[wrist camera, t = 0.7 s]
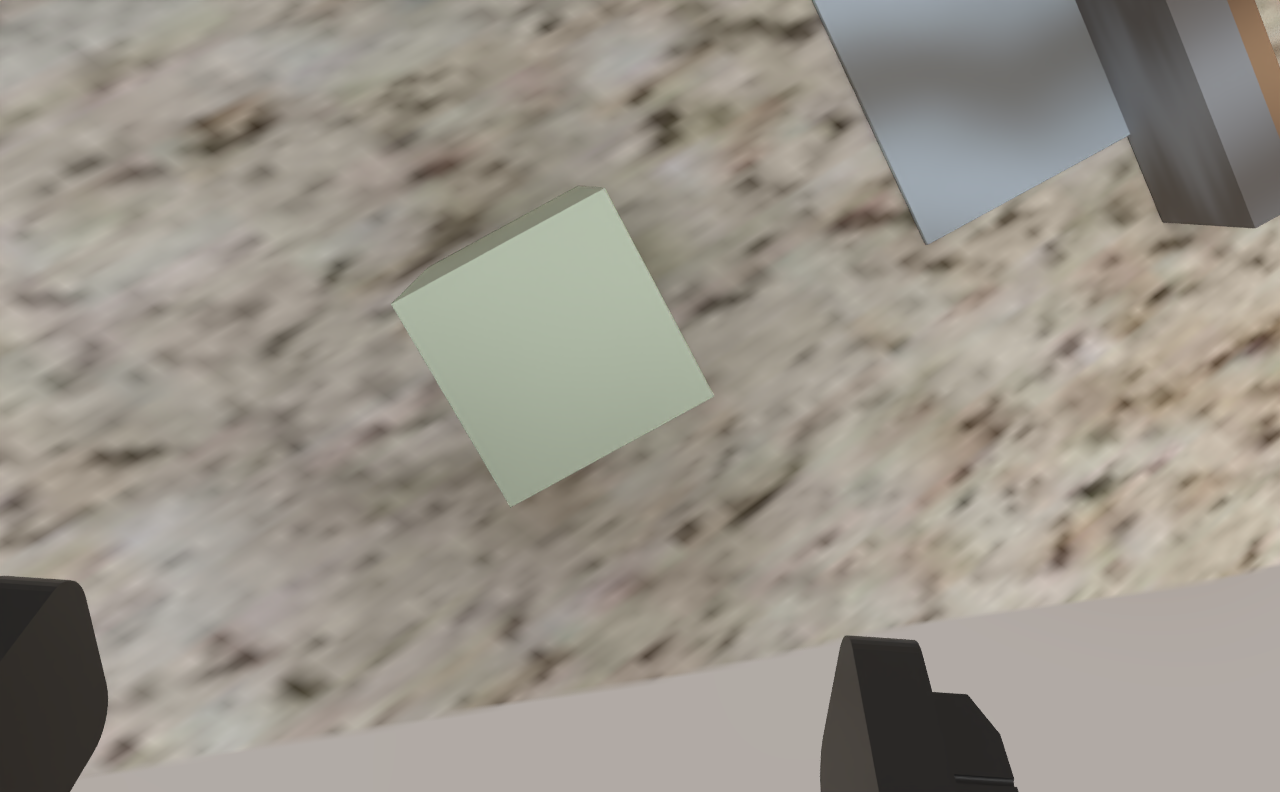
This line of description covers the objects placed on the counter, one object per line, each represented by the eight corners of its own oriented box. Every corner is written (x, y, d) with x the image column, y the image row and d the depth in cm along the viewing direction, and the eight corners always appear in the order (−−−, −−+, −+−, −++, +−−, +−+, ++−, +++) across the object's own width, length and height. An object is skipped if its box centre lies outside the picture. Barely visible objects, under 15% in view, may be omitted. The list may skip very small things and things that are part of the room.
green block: (428, 267, 33) (391, 304, 23) (578, 185, 33) (604, 188, 23) (511, 413, 34) (510, 507, 24) (657, 334, 34) (714, 396, 24)
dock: (765, -100, 32) (805, -144, 28) (1090, -276, 32) (1180, -349, 28) (965, 330, 35) (1029, 351, 31) (1261, 168, 35) (1368, 166, 31)
